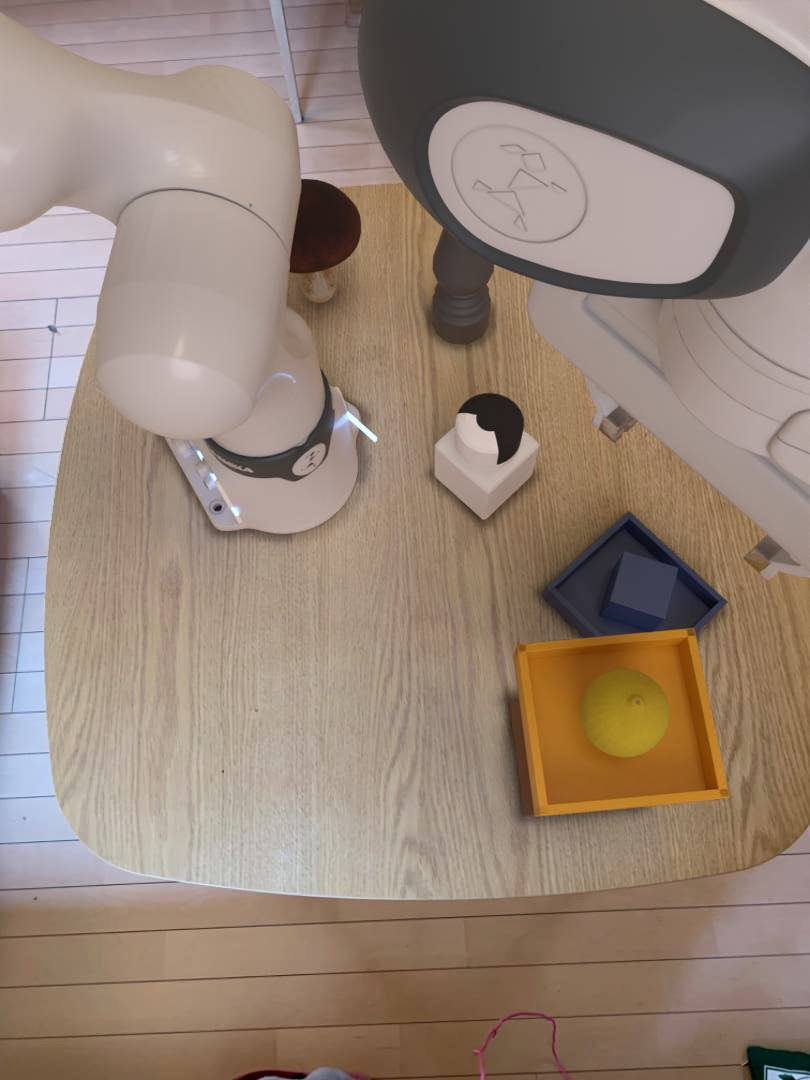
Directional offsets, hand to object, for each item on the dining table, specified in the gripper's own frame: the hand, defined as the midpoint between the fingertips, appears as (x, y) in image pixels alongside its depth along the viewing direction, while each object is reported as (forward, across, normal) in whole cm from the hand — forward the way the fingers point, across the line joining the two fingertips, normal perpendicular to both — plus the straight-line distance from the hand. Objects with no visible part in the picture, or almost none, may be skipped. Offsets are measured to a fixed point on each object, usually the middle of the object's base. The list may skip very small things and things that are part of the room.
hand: (686, 490), depth 40 cm
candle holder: (+41, -34, +19) cm, 57 cm away
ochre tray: (+41, +6, -5) cm, 42 cm away
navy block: (+41, 0, +9) cm, 42 cm away
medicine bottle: (+41, -19, +8) cm, 46 cm away
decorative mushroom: (+41, -47, +10) cm, 63 cm away
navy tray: (+41, 0, +9) cm, 42 cm away
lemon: (+23, +6, -5) cm, 24 cm away
